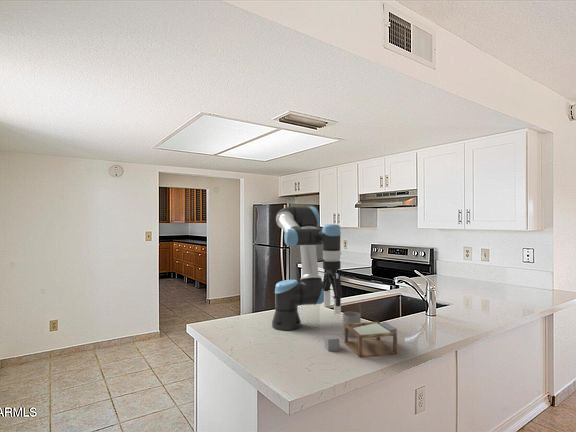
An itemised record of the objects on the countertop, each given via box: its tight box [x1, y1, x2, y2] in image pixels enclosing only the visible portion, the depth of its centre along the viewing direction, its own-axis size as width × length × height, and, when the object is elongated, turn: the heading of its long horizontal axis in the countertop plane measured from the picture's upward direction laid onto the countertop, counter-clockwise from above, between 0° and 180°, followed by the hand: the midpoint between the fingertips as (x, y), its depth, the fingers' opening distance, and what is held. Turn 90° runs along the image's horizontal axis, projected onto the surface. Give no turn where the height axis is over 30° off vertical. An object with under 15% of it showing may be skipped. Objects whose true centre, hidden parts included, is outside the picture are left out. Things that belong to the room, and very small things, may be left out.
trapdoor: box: [353, 321, 398, 341], centre depth 152 cm, size 16×13×2 cm
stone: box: [324, 334, 341, 352], centre depth 152 cm, size 5×5×5 cm
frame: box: [344, 321, 398, 358], centre depth 152 cm, size 17×17×8 cm
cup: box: [342, 311, 362, 339], centre depth 169 cm, size 8×8×10 cm
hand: (332, 309), depth 152 cm, fingers open, 13 cm apart
